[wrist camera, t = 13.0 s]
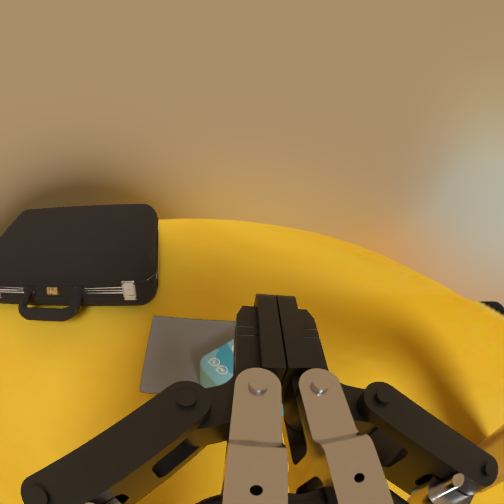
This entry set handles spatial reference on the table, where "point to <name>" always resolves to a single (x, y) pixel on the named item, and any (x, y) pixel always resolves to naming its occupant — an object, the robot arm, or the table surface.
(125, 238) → the briefcase
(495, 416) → the table surface
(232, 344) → the data package
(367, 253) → the table surface
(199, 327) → the mat
